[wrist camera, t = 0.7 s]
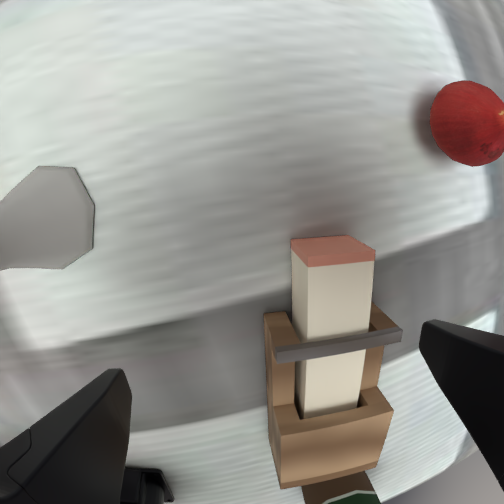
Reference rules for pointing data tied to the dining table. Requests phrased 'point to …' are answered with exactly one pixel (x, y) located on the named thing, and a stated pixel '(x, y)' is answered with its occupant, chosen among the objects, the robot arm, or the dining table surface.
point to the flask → (46, 220)
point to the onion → (468, 123)
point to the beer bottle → (341, 491)
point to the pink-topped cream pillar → (330, 319)
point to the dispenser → (333, 425)
